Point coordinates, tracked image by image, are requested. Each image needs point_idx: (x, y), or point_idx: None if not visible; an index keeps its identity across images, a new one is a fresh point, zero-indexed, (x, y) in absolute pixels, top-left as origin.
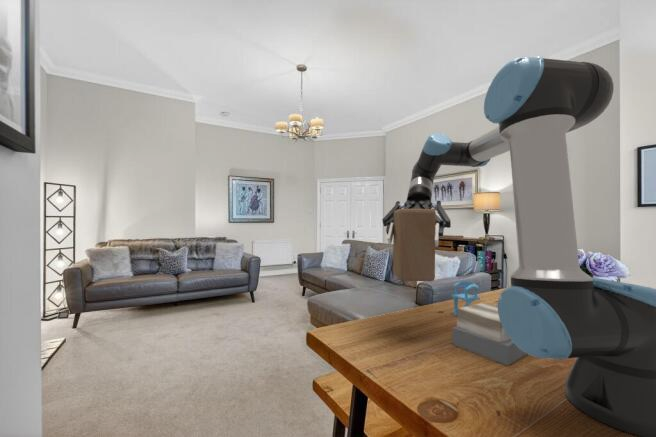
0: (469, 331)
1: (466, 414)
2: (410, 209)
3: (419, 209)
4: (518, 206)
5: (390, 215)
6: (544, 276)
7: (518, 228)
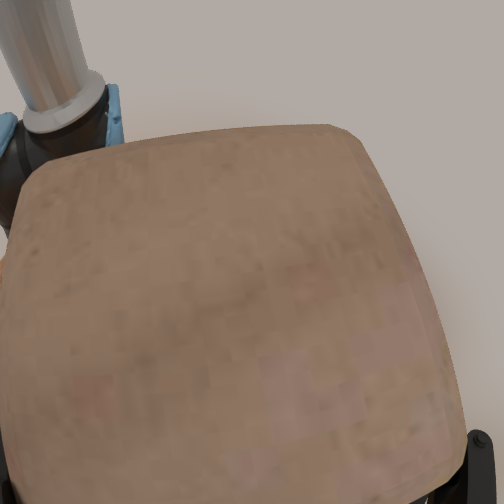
0: None
1: None
2: (262, 127)
3: (166, 138)
4: (67, 3)
5: (464, 495)
6: (92, 70)
7: (73, 35)
